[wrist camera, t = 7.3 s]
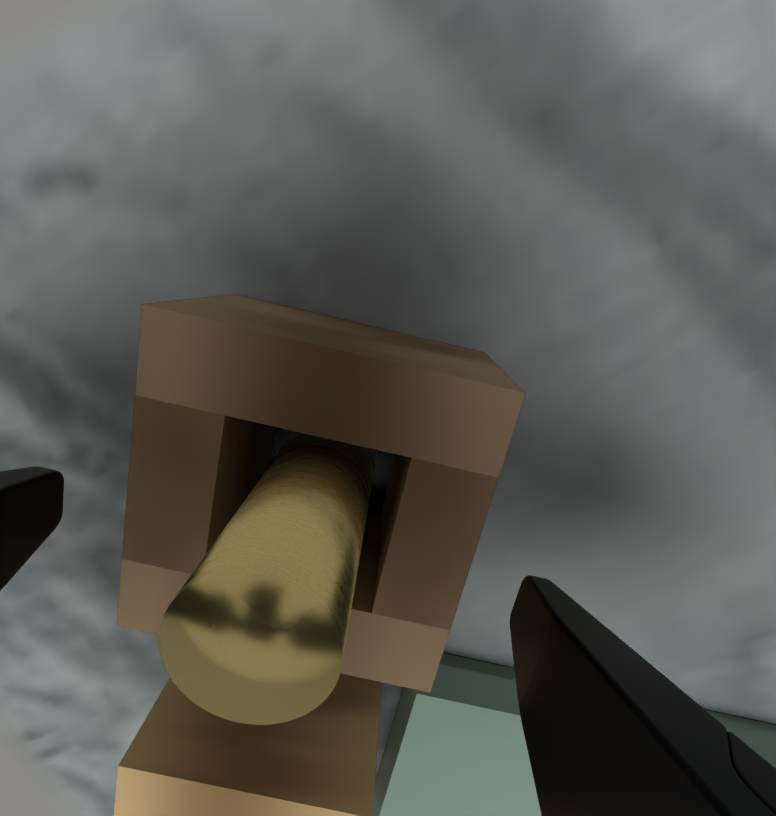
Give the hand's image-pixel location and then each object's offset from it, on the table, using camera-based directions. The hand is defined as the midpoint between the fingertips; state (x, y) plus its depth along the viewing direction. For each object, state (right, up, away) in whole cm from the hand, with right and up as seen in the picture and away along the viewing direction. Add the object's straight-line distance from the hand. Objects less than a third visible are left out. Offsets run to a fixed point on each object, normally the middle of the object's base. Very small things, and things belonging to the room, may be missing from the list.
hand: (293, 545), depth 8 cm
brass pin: (0, +1, +5) cm, 6 cm away
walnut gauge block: (0, +1, +5) cm, 6 cm away
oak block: (-2, -8, +8) cm, 11 cm away
